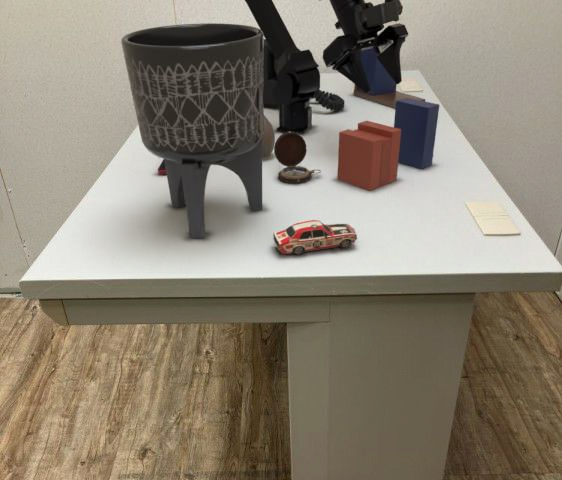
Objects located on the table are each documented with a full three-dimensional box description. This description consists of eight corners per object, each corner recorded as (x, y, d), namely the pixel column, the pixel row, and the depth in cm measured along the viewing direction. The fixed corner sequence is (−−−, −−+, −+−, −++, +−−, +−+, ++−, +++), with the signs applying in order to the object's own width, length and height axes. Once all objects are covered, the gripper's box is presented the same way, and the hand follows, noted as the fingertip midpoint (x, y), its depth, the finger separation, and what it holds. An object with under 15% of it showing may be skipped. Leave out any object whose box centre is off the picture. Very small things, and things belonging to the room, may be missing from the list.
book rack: (399, 109, 148) (404, 59, 141) (353, 95, 160) (355, 48, 153) (425, 104, 151) (430, 54, 144) (377, 90, 164) (380, 44, 157)
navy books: (373, 95, 154) (376, 47, 148) (358, 91, 159) (360, 44, 152) (396, 91, 158) (400, 44, 151) (380, 86, 162) (383, 40, 155)
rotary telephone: (368, 98, 157) (372, 32, 148) (328, 118, 143) (330, 47, 134) (262, 85, 172) (260, 24, 163) (216, 102, 158) (211, 37, 149)
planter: (257, 245, 90) (246, 47, 74) (133, 238, 93) (96, 46, 77) (280, 196, 105) (275, 22, 89) (173, 191, 108) (149, 23, 92)
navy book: (390, 160, 119) (395, 100, 112) (401, 156, 120) (406, 97, 114) (421, 169, 114) (428, 107, 108) (431, 165, 116) (439, 104, 109)
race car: (275, 252, 92) (269, 224, 89) (352, 233, 92) (348, 205, 89) (280, 267, 88) (274, 239, 85) (360, 248, 88) (357, 219, 85)
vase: (271, 162, 119) (269, 116, 114) (237, 161, 120) (234, 115, 115) (278, 151, 125) (277, 106, 119) (246, 150, 126) (243, 105, 120)
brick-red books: (337, 179, 111) (338, 129, 106) (363, 169, 115) (366, 120, 109) (370, 190, 106) (373, 138, 101) (396, 180, 110) (401, 129, 105)
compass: (282, 185, 109) (281, 144, 105) (274, 171, 115) (273, 131, 111) (325, 181, 110) (325, 140, 106) (314, 167, 117) (315, 128, 112)
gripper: (342, -16, 101) (380, 73, 103) (411, -26, 111) (444, 55, 113) (305, 25, 111) (341, 105, 113) (371, 12, 120) (403, 86, 123)
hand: (384, 87), depth 115 cm, fingers open, 9 cm apart
